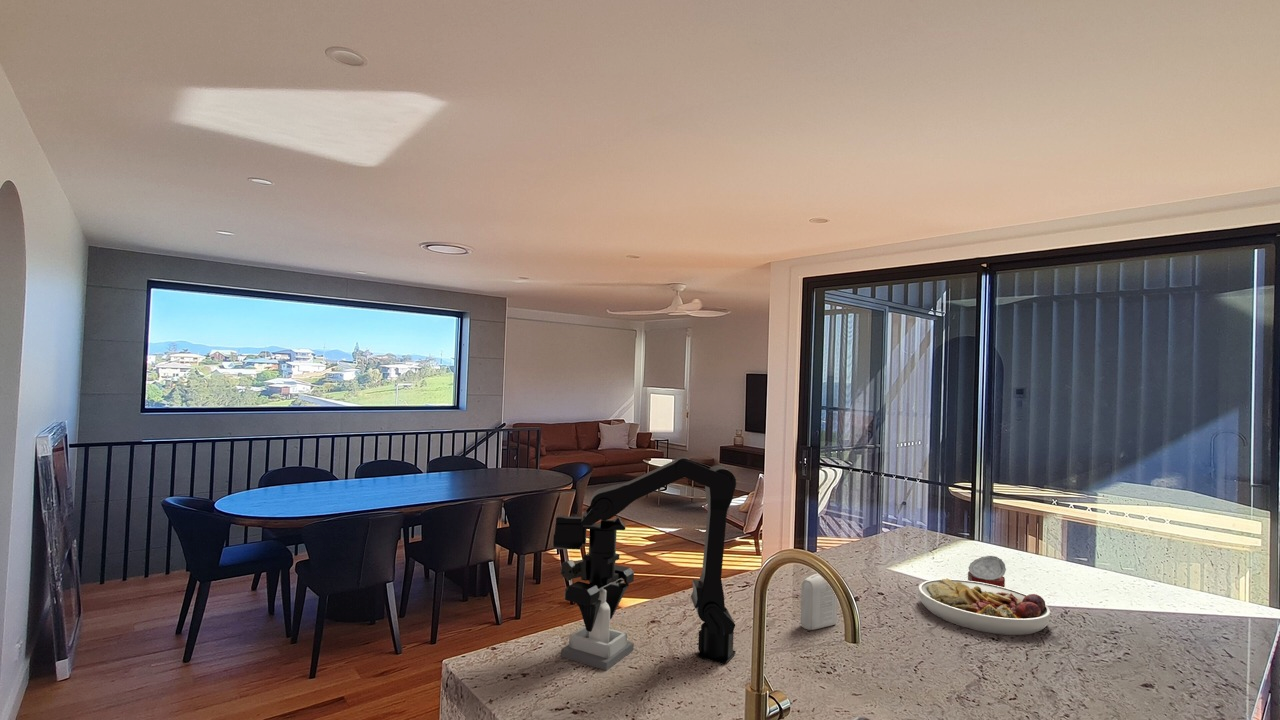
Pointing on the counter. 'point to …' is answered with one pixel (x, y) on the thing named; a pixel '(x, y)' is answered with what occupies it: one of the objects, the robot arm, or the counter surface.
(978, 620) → the bowl
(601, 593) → the eye dropper bottle
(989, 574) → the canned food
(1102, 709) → the counter surface
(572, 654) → the grey square bottle holder
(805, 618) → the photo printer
